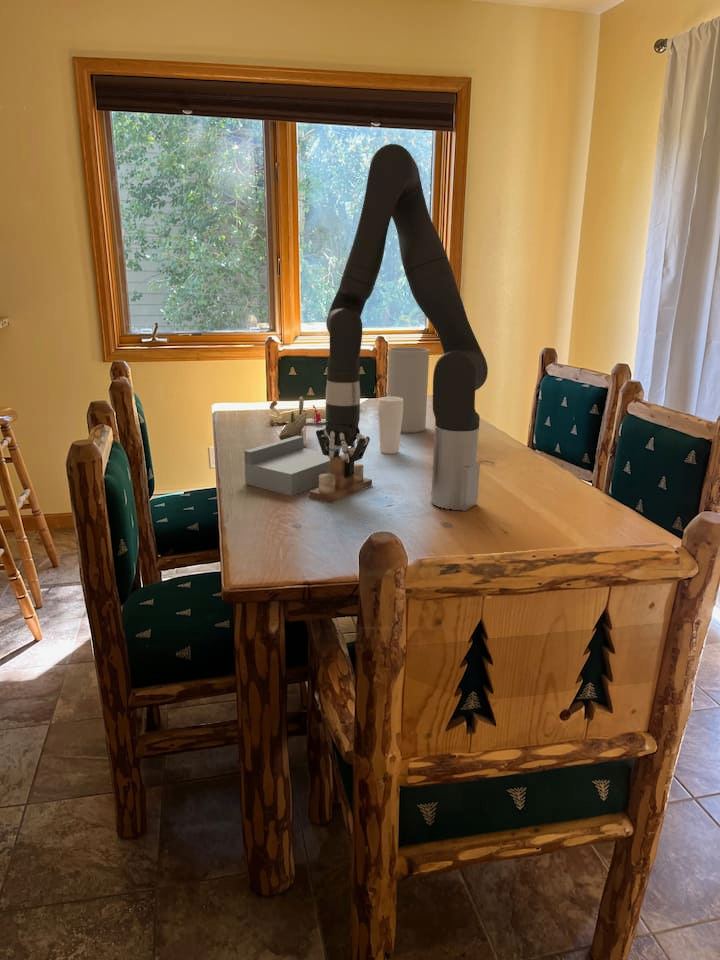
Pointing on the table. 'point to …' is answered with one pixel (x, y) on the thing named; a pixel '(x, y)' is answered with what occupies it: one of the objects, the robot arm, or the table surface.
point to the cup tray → (339, 482)
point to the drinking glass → (390, 423)
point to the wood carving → (296, 425)
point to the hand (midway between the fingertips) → (341, 475)
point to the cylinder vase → (409, 384)
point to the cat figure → (286, 415)
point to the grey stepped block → (285, 466)
